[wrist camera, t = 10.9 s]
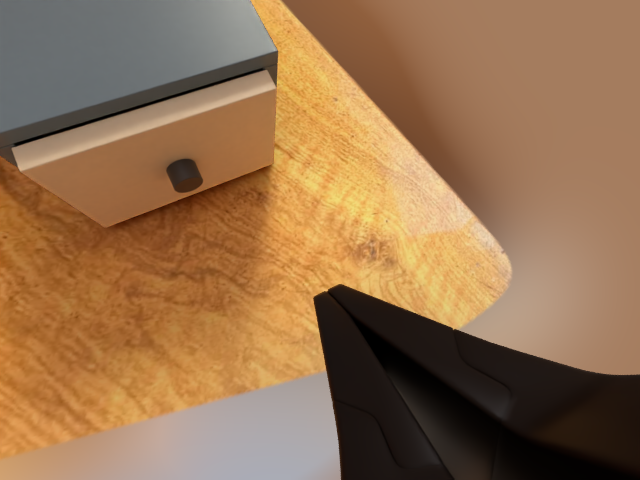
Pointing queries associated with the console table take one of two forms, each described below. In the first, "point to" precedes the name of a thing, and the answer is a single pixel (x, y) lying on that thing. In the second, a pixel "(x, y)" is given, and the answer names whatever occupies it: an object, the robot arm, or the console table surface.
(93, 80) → the cabinet
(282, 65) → the console table surface
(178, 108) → the drawer
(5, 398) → the console table surface
